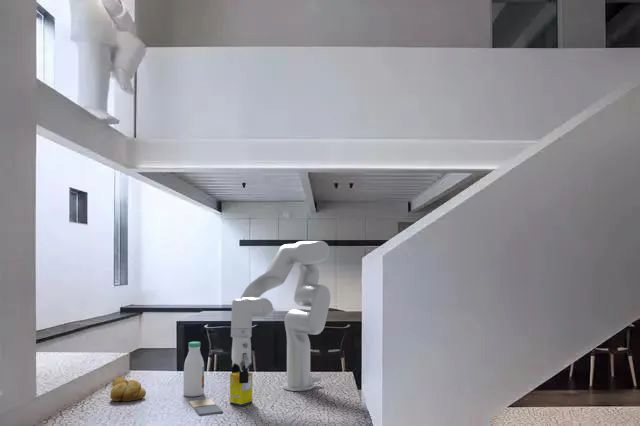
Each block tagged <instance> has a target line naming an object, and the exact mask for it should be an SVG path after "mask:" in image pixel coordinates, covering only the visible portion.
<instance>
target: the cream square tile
mask: <svg viewBox="0 0 640 426" xmlns="http://www.w3.org/2000/svg"><path fill="white" fill-rule="evenodd" d="M188 403H189V405H190V406H191V407H192V408H193V409H195V408H197V407H206V406H214V405H217V404H216V402H215V401H214V400H212V399H211V398H205V399H198V400H197V399H196V400H189V401H188Z"/></svg>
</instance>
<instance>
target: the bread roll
mask: <svg viewBox="0 0 640 426" xmlns="http://www.w3.org/2000/svg"><path fill="white" fill-rule="evenodd" d="M146 393H147V391H146V389H144V388H143V387H142V384H141V383H140V382H139V381H137V380H134V379H131V380H127V379H125V378H124V377H121V376H116V377H115V378H113V381H112V388H111V390H110V399H111V400H112V401H113V402H120V401H122V402H131V401H134V400H140V399H141V400H142V399H143V398H145V397H146Z"/></svg>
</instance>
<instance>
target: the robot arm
mask: <svg viewBox="0 0 640 426" xmlns="http://www.w3.org/2000/svg"><path fill="white" fill-rule="evenodd" d="M329 256H330V247H329V244H328V243H327V242H325V241H323V240H301V241H297V242H296V243H286V244H285V243H284V244H283V245H281V246H280V247H279V248H278V250H277V252H276V253H275V255H274V257H273V259H271V262H270V263H269V265H268V266H267V269H266V270H265V271H264V272H263V273H261V275H259V276H258V277H257V278H255V279H254V280H253V281H251V282H250V283H249V284H248V286H247V287H246V288H245V289H244V291H243V293H242V294H241V296H240V298H239V297H238V298H234V299H233V300H232V301H231V319H230V320H231V324H230V337H231V338H232V341H231V342H232V343H231V344H232V345H231V361H232V363H231V374H232V373H236V372H239V383H248V374H249V371H250V370H249V369H250V368H249V367H250V365H251V364H252V343H251V338H252V336H253V335H252V331H253V330H252V329H253V327H252V326H253V318H258V319H263V318H264V319H265V318H267V317H269V316H270V315H271V314H272V313H273V304H272V302H271V300H269V299H268V298H265V297H261V296H262V295H263V294H265V293H267V291H271V290H273V289H275V288H277V287H280V286H282V285H283V284H284V283H285V282H286V279H287V278H288V276H289V274H290V272H291V270H292V269H293V268H294V266H298V269H299V274H298V279H297V283H296V287H295V291H294V296H293V299H294V302H295V305H297V306H299V307H305V308H310V309H303V308H294V309H289V311H288V312H287V313H285V316H284V328H285V332H286V334H285V335H286V382H284V383H283V384H282V388H283V389H284V390H286V391H292V392H306V391H310V390H312V389H314V388H315V385H314V383H315V382H317V383H318V382H322V377H321V376H316V375H314V376H313V375H311V342H310V337H309V335H314V336H315V335H320V334H321V332H323V330H324V329H325V327H326V326H325V325H326V322H327V317H328V312H329V309H330V304H331V292H330V290H329V288H328V287H327V286H326V285H324V284H319V280H320V270H319V267H318V265H317V263H321V262H324V261H326V260H327V259H328V257H329ZM240 371H241V372H240Z"/></svg>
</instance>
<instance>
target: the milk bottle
mask: <svg viewBox="0 0 640 426" xmlns="http://www.w3.org/2000/svg"><path fill="white" fill-rule="evenodd" d="M201 344H202V343H201V341H190V342H188V344H187V345H188V352H187V356H185V357H186V358H185V359H184V360H185V361H184V365H183V396H185V397H192V398H193V397H199V396H200V397H201V396H202V395H204V394H205V393H204V391H205V362H204V358H203V356H202V354H201V350H200V349H201Z"/></svg>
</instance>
